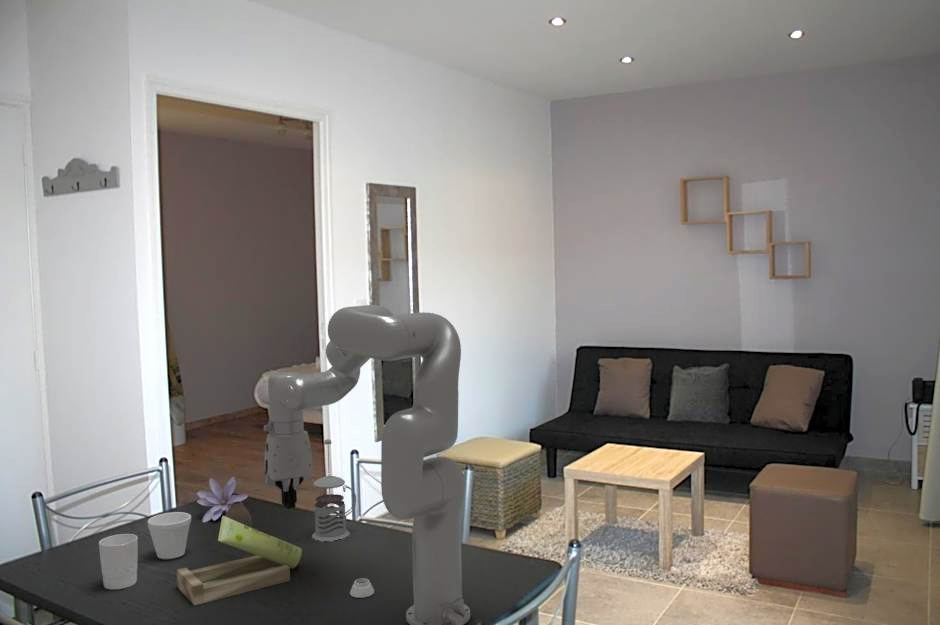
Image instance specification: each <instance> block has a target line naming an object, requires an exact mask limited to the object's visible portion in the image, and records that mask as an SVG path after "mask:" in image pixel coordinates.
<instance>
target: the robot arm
mask: <svg viewBox="0 0 940 625" xmlns="http://www.w3.org/2000/svg"><path fill="white" fill-rule="evenodd" d="M327 336H328V339H329V341H328V343H327V344H326V348H325V356H326V359H327V361H328V363H329V364H330V366H331V367H330V368H329V369H327V370H326V371H320V372H314V373H308V374H299V373H297V372H295V371H294V372H293V371H287V372H286V371H284V372H282V371H281V372H277V373H273V374H271V375H270V376H269V378H268V379H267V389H268V415H269V417H268V418H269V420H268V423H267V424H265V425H263V431H264V432H268V433H269V434H267V435H266V436H267V437H266V441H265V447H264V459H263V460H264V463H263V464H264V466H263V467H264V469H263V470H264V475H265V478H264V479H265V480H264V484H265V485H267V486H273V487H274V486H276V487H277V488H278V489H279V490H280V491H281V492H280V494H281V495H280V496H281V503H282V505H283V507H284V508H286V509H287V510H291V508H292V509H295V508H296V504H297V502H298V500H297V499H298V498H297V491H298V489H299V486H300V485H301V484H302V483H303V482H304V481H306V480H308V479H311V478H312V472H313V470H314V468H313V467H314V465H313V454H312V448H311V442H310V438H309V437H310V436H309V434H308V431H307V430H305V428H304V424H305V423H304V411H305V410H311V409H314V408H318V407H323V406H324V407H325V406H329V405H333V404H336V403H338V402H339V401H341V400H342V399H343V398H344V397H346V395H347V396H348V394H349V393H350V392H351V391H352V390H353V389H354V388H355V387H356V386H357V384H359V383H358V382H359V379H360V376H361V368H362V367H363V366H364V365H366V363H367V362H368V361H369V360H370V359H373V360H379V361H386V362H391V361H399V360H405V359H411V358H416V357H421V359H422V360H421V363H420V365H419V367H418V370H417V371H416V375H415V379H414V384H413V387H414V388H413V391H414V395H413V404H412V407H411V408H406V409H402V410H399V411H397V412H395V413H393V414H391V415H390V417H389V418H388V419H387V421H386V422H385V424H384V427H383V429H382V433H381V442H380V443H381V446H380V448H381V449H380V450H381V451H380V453H381V454H380V455H381V456H380V459H381V461H380V462H381V465H380V466H381V467H380V468H381V471H380V472H381V474H380V475H381V476H380V480H381V481H380V484H381V485H380V486H381V496H382V501H383V504H384V506H385V509H386V511H387V512H388V513H389V515H391V516H393V517H394V518H395V519H398V520H402V521H404V520H405V521H407V520H411V519H413V521H412V528H411V530H412V531H411V541H412V542H411V543H412V545H411V546H412V547H411V550H412V553H411V555H412V582H413V583H412V586H413V589H412V590H413V591H412V592H413V593H412V594H413V605H411V606H409V608H408V609H407V610H406V612H405V619H406V622H407V624H409V625H465V624H467V623H468V622H469V621H470V618H471V609H470V607H469V606H468V605H467V604H465V601H464V600H465V599H463V582H462V581H463V577H462V570H463V569H462V509H463V502H464V496H465V491H466V490H465V487H466V483H465V482H466V481H465V476H464V475H465V474H464V472H463V469H462V468H461V466H460V465H459V463H457V461H455V460H454V459H452V458H449V457H446V456H435V457H430V456H433V455H435V454H440V453H442V452H446V451H448V450H449V449H451V448H453V446H454V445H455V443H456V442H457V439H458V435H459V434H458V432H459V380H460V379H459V377H460V367H461V358H462V345H461V340H460V337H459V336H460V335H459V334H458V331H457V329H456V328H455V327H454V325H453V324H452V323H451V321H449V320H448V319H447V318H446V317H444V316H442V315H441V314H437V313H434V312H424V311H423V312H412V313H411V312H409V313H404V314H403V313H402V314H393V312H392V311H391V310H389V309H388V308H386V307H385V306H382V305H378V304H367V305H355V306H354V305H353V306H345V307H342V308H340V309H338V310H337V311H335V312H334V313H333V314H332V316H331V317H330V318H329V321H328V324H327ZM427 457H429V458H427ZM424 458H427V459H424Z"/></svg>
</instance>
